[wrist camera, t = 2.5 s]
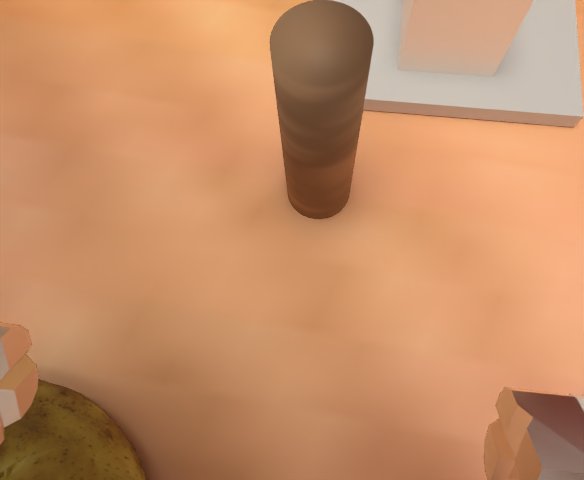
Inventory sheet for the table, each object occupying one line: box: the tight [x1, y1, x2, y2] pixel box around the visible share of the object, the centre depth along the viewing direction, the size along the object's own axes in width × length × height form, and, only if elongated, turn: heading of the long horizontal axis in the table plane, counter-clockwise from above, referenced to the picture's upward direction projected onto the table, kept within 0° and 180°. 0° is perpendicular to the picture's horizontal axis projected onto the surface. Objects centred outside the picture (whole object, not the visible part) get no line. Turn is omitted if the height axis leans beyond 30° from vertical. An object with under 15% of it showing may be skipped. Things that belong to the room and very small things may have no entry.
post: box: [270, 0, 374, 219], centre depth 21 cm, size 3×3×11 cm
